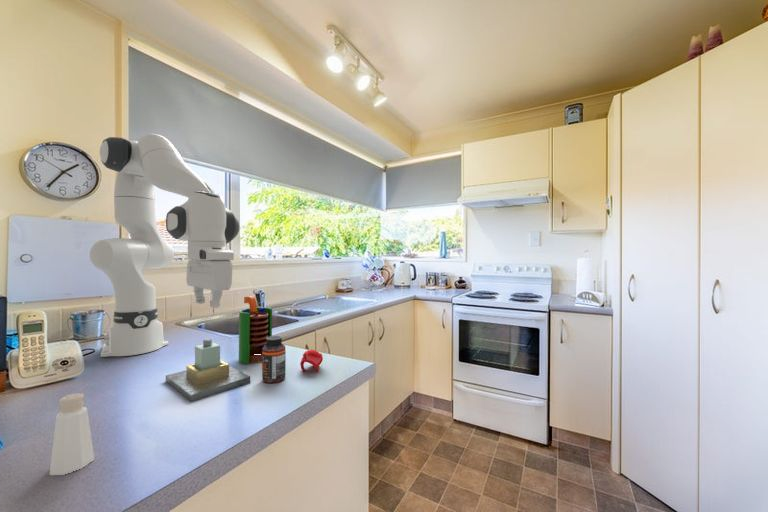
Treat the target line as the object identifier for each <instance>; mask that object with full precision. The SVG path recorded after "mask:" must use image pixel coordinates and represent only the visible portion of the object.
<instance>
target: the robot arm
mask: <svg viewBox="0 0 768 512" xmlns="http://www.w3.org/2000/svg"><path fill="white" fill-rule="evenodd" d="M99 157H100V161H101V163H102V164H103V166H104V167H105V168H107V169H108V170H111V171H115V172H117V173H116V178H115V183H114V194H113V196H114V197H113V200H114V201H113V202H114V205H113V206H114V209H113V211H114V220H115V222H116V223H117V224H118V225H119V226H121V227H123V228H124V229H125V230H126V231H127V233H128V234H129V237H130V238H122V237H114V238H107V239H106V238H105V239H100V240H97V241H95V243H94V244H93V245H92V246H91V248H90V250H89V259H90V262H91V264H93V266H94V267H95V268H97V269H99V270H100V271H102V272H103V273H104V275H106V276H107V277H108V278H109V280H110V282H111V284H112V287H113V290H114V298H115V299H114V301H115V311H114V312H113V316H112V317H113V322H114V324H113V325H112V327H111V328H110V330H108V332H106V333H104V334H103V341H106V342H105V343H104V344H103V346H102V348H101V351H100V356H99V357H100V358H106V357H127V356H128V357H129V356H130V357H131V356H137V355H141V354H147V353H150V352H153V351H157V350H159V349H161V348H162V347H164V346H167V345H169V341H168V340H164V329H163V328H164V327H163V322H161V321H159V320H158V315H159V312H158V308H157V298H156V297H157V291H156V290H157V289H156V286H155V285H154V284H153V283H152V282H150V281H147V280H146V279H145V278H144V276H143V272H142V271H143V270H144V271H146V270H157V269H162V268H165V267H168V266H170V265H171V264H172V263H173V261H174V258H175V250H174V248H173V246H172V245H171V244H170V243H169V242H168V241H166V239H165V238H164V237H163V236H162V234H161V232H160V230H159V227H158V225H157V220H156V208H155V207H156V205H155V203H156V202H155V200H156V198H155V190H154V189H155V187H157V188H158V189H160V190H162V191H165V192H169V193H172V194H175V195H180V196H182V197H186V198H188V199H187V200H186V201H185V202H184V203H183V204H181V205H178V206H175V207H173V208H171V209H170V210H169V211H168V212H167V213H166V215H165V216H166V217H165V228H166V231H167V233H168V234H169V236H171V237H172V238H173V239H175V240H178V241H183V242H184V241H186V242H187V260H188V262H187V264H186V265H187V266H186V278H185V279H186V284H187V286H189V287H193V293H194V297H195V303H196V304H198V305H201V304H205V303H206V297H205V294H204V290H209V291H210V294H211V300H209V307H211V308H213V309H216V308H217V309H218V308H220V306H221V305H220V303H221V298H222V296H223V291H229V290H230V289H231V287H232V285H233V284H232V283H233V262H232V261H233V260H234V258H235V254H234V253H235V252H234V251H233V250H231V249H230V248H229V247H228V246H227V244H229V243H231V242H232V241H233V240H234V239H236V237H237V236H238V234H239V232H240V222H239V219H238V218H237V216H236V215H235V214H234V212H233V211H231V210H230V209H229V208H227V207H226V203H225V199H224V197H223V195H220V194H219V193H216V192H215V191H214V190H213V189H212V187H211V186H210V185H209V183H208V182H206V181H205V180H204V179H203V177H201V176H199V175H198V174H197V173H196V172H195V171H193V170H192V169H191V168H190V166H188V165H187V164H186V162H185V161H184V160H183V159H182V156H181V154H180V153H179V152H178V150H177V149H176V148H175V146H174V145H173V144H172V142H170V140H168V139H167V138H166V137H165V136H163V135H161V134H157V133H156V134H155V133H150V134H146V135H143V136H142V137H140V138H139V139H138V141H137V140H131V139H126V138H123V137H115V136H113V137H112V136H110V137H107V138H105V139H103V141H102V143H101V145H100V147H99ZM154 186H155V187H154Z"/></svg>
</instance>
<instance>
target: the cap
mask: <svg viewBox="0 0 768 512" xmlns="http://www.w3.org/2000/svg"><path fill="white" fill-rule="evenodd" d="M323 359H324V358H323V354H322V353H320V352H319V351H317V350H315V349H308V350H306V351H305V352H304V353H303V354H302V358H301V360H300V364H299V365H300V369H301V370H303V371H302V372H305V371H306V368H305V367H304V365H305V363H308V364H310V365H312V366H313V367H314V369H315V371H316V373H319V371H320V369H319V366H320V365H321V364H322V363H323Z"/></svg>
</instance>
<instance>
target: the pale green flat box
mask: <svg viewBox="0 0 768 512" xmlns="http://www.w3.org/2000/svg"><path fill="white" fill-rule="evenodd" d="M220 360H221V345H220V344H218V343H216V342H213V340H212V339H211V338H206V339H203V340H202V344H199V345H198V344H197V345H195V346H194V363H195V368H196V369H198V370H199V371H201V370H205V369H208V368H212V367H216V366H220Z"/></svg>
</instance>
